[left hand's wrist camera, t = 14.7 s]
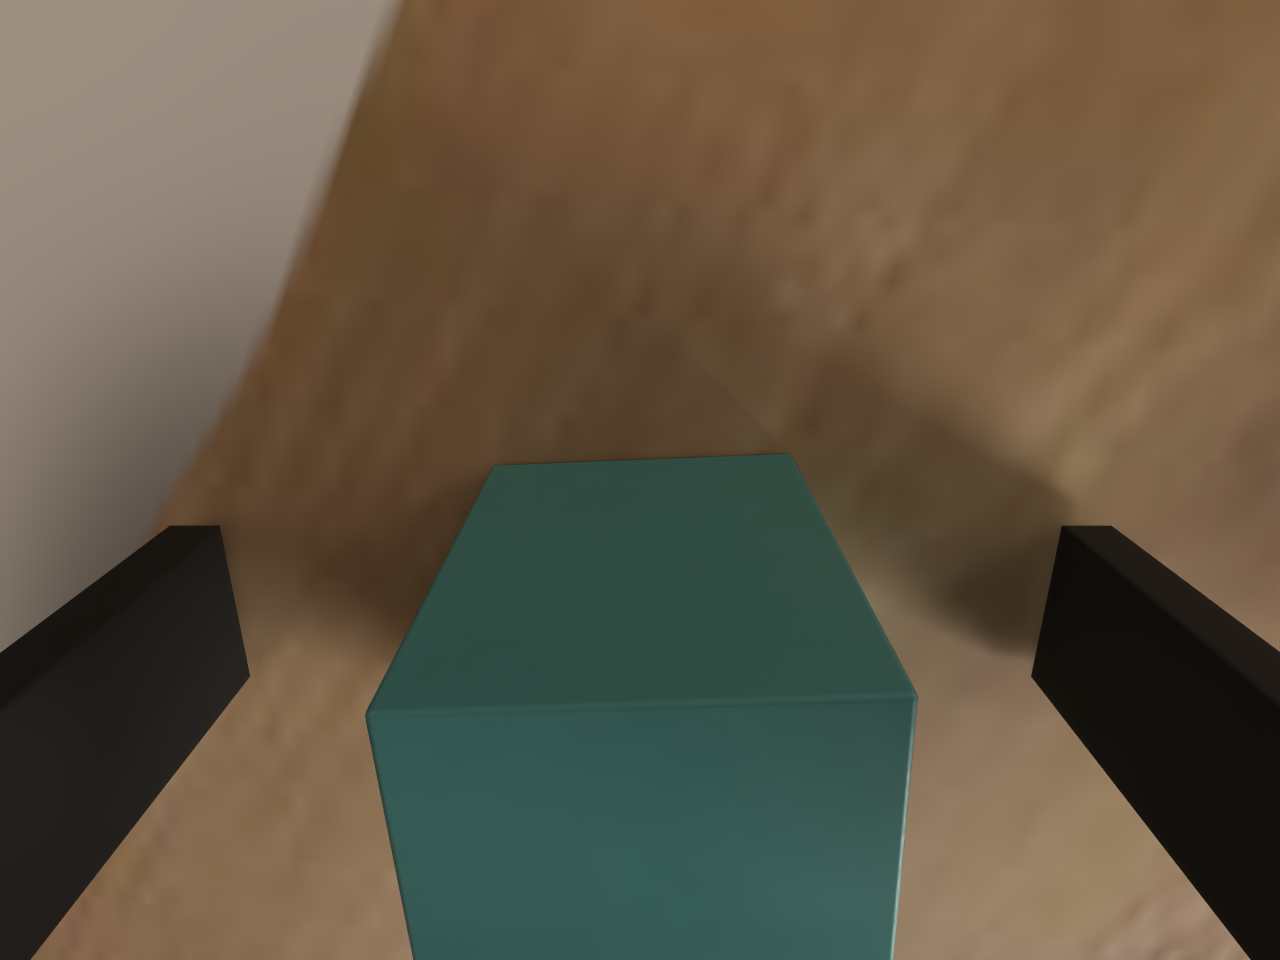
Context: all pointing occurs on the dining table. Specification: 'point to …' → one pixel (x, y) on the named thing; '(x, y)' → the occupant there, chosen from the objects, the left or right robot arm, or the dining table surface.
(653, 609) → the teal block
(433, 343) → the dining table surface
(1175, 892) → the dining table surface
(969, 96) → the dining table surface
